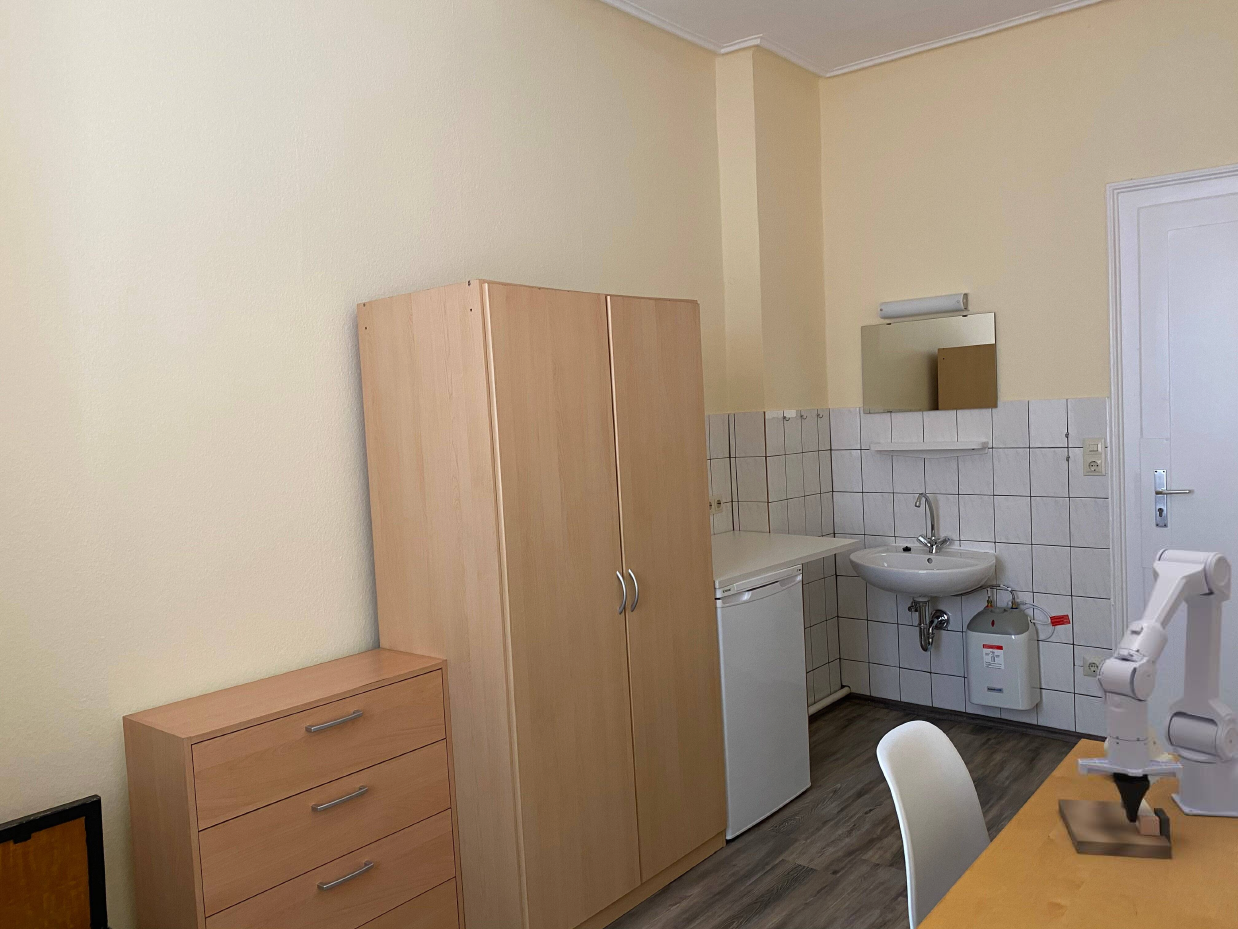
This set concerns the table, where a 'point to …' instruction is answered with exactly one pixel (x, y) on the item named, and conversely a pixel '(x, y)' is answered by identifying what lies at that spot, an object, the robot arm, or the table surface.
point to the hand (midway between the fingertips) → (1131, 820)
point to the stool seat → (1112, 830)
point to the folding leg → (1146, 820)
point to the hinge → (1151, 751)
